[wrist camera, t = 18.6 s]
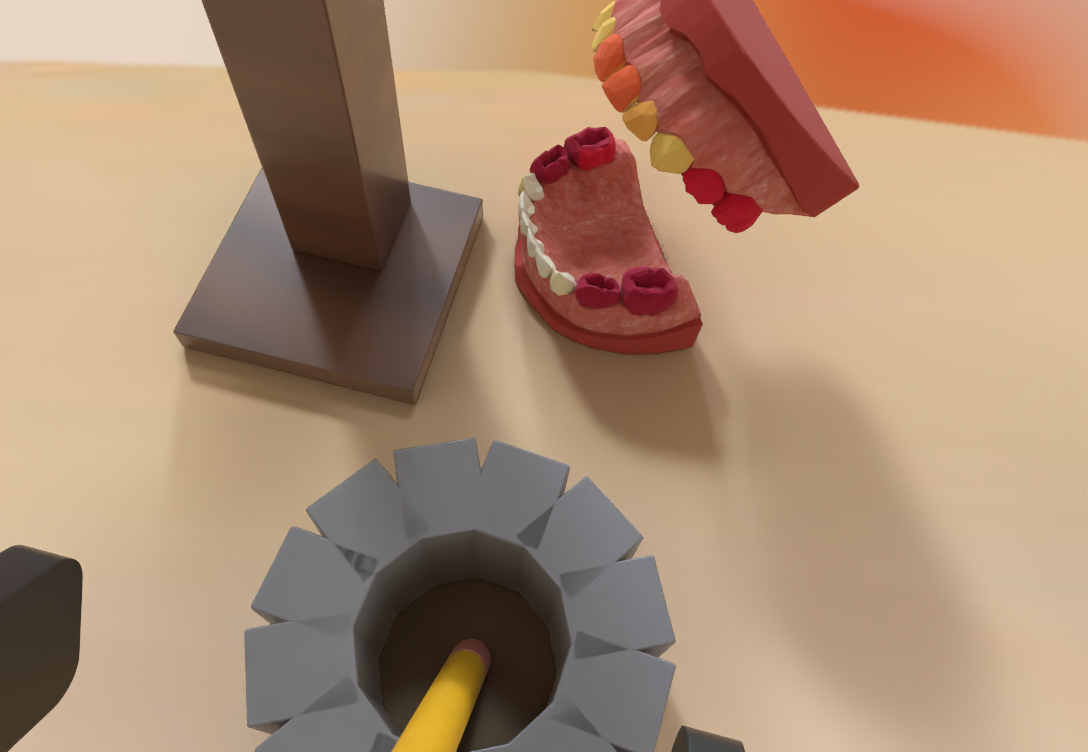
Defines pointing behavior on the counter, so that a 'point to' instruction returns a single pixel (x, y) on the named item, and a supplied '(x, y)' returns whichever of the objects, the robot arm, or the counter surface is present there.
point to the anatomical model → (668, 168)
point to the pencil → (448, 701)
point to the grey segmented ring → (448, 556)
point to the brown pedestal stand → (327, 208)
